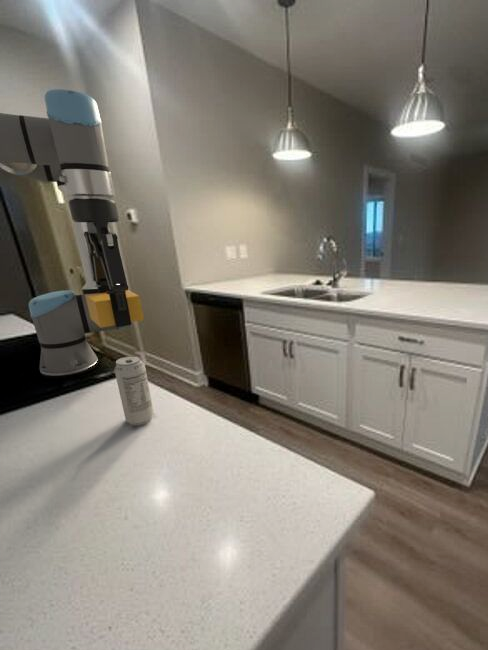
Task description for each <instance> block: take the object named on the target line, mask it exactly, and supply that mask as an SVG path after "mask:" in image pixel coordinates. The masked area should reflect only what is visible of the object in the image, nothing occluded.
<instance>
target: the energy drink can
mask: <svg viewBox="0 0 488 650" xmlns="http://www.w3.org/2000/svg"><path fill="white" fill-rule="evenodd" d="M115 364H116V365H115V367H114V374H115V375H114V376H115V379H116V383H117V388H118V393H119V396H120V401H121V406H122V409H123V415H124V419H125V421H126V422H127V423H129V425H131V426H143V425H146V424H148V423H149V422H151V420H152V419H153V417H154V415H155V412H154V408H153V402H152V396H151V390H150V386H149V385H150V384H149V379H148V375H147V369H146V365H145V363H144V362H143V361H142V360H141V357H140V356H138V355H137V356H136V355H129V356H128V355H127V356H124V357H121V358H118V359H117V360H116V361H115Z"/></svg>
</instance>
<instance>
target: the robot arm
mask: <svg viewBox="0 0 488 650" xmlns="http://www.w3.org/2000/svg"><path fill="white" fill-rule="evenodd" d="M44 102H45V108H46V116H47V117H39V116H32V115H31V116H30V115H21V114H11V113H3V112H0V169H1V170H4V171H5V172H7V173H10V174H12V175H15V176H18V177H22V178H26V179H30V180H34V181H40V182H50V183H51V182H52V183H56V186H57V189H58V190H59V191H60V192H61V193H62V194H64V195H65V197H66V201H67V205H68V210H69V214H70V218H71V222H72V223H71V224H72V227H73V231H74V235H75V240H76V244H77V248H78V252H79V256H80V260H81V264H82V270H83V274H84V277H85V284H84V285H83V286H82V287H81V290H82V294H76V293H75V291H74V290H72V289H70V290H69V289H66V290H58V291H53V292H52V291H51V292H47V293H44V294H40V295H38V296H36V297H33V298H32V299H30V300H29V302H28V309H29V314H30V318H31V320H32V323H33V327H34V329H35V333H36V336H37V340H38V343H39V346H40V358H39V372H40V375H41V376H42V377H44V378H49V379H63V378H69V377H75V376H79V375H82V374H86V373H88V372H90V371H92V370H93V369H95V368H97V367H98V365H99V359H98V356H97V354H96V353H95V352H94V350H93V349H92V347H91V346H90V344H89V343H88V341H87V339H86V335H85V334H90V333H98V332H105V331H111V330H120V329H125V328H130V327H131V326H132V325H133V323H134V322H131V319H130V313H129V308H128V303H127V298H126V293H125V292H126V290H129V291H131V290H130V289H129V285H128V281H127V277H126V273H125V269H124V265H123V260H122V256H121V251H120V246H119V240H118V239H119V238H118V235H117V234H116V233H113V232H111V229H110V226H109V223H118V222H119V221H120V218H119V212H118V206H117V202H115V200H113V198H114V197H115V196H116V194H115V189H114V184H113V183H114V182H113V179H112V173H111V170H110V166H109V160H108V155H107V149H106V142H105V136H104V131H103V127H102V124H103V121H102V118H101V116H100V112H99V108H98V107H99V106H98V104H97V102H96V100H95V99H94V98H93V97H92V96H90V95H88V94H85V93H83V92H81V91H76V90H70V89H62V88H61V89H60V88H55V89H50V90H47V91H46V92H45V93H44ZM105 292H106V293H107V294H109V296H110V301H111V306H112V310H113V315H114V320H115V324H116V325H113V326H108V327H102V328H100V327H99V326H98V325H97V324H96V323H95V322H94V321H93V320H92V319H91V317H90V313H89V309H88V305H87V301H86V297H85V295H88V294H97V293H105ZM97 361H98V362H97ZM96 363H97V364H96ZM95 364H96V365H95ZM92 366H93V367H92ZM90 367H91V368H90ZM88 368H89V369H88Z"/></svg>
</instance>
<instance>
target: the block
mask: <svg viewBox="0 0 488 650" xmlns="http://www.w3.org/2000/svg"><path fill="white" fill-rule="evenodd" d="M129 290H130V289H128V290H126V292H125V293H126V298H127V303H128V308H129V313H130V319H131V322H133V323H135V322H141V321H144V319H145V318H144V313H143V307H142V303H141V302H142V301H141V297H140V295H139V294H137V293H135V292H132V291H131V290H130V291H129ZM85 297H86V301H87V305H88V309H89V313H90V317H91V319H92V320H93V321H94V322H95V323H96V324H97V325H98V326H99V327H100V328H102V327H108V326H113V325H116V324H115V320H114V315H113V310H112V306H111V301H110V296H109V294H107V293H106V292H105V293H97V294H88V295H85Z"/></svg>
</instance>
